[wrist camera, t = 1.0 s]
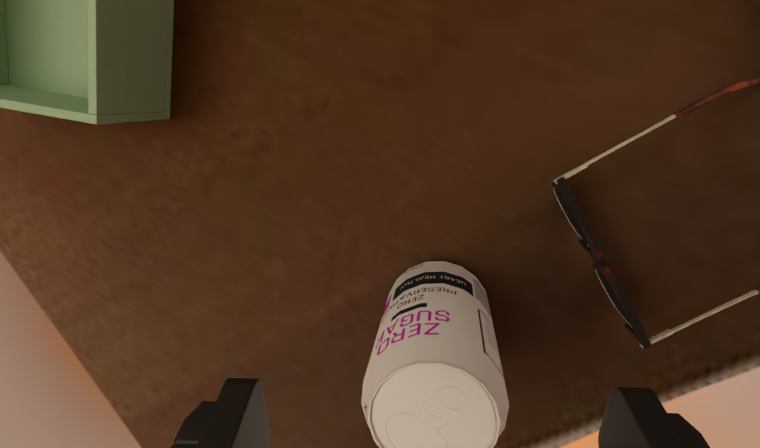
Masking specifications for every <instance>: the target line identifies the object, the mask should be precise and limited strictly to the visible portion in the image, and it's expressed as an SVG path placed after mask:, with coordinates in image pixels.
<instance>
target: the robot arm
mask: <svg viewBox="0 0 760 448" xmlns="http://www.w3.org/2000/svg"><path fill="white" fill-rule="evenodd" d="M269 438H270V423H269V417H268V411H267V406H266V400H265V394H264V388H263V383H262V381H261V379H245V378H228V379H227V380H226V381H225V383H224V385H223V387H222V390H221V392H220V394H219V396H218V399H217V401H216V402H209V401H203V402H202V403H201V404H200V405H199V406H198V407H197V408H196V409H195V410H194V411H193V412H192V413H191V414H190V415H189V416H188V417H187V418H186V419H185V420H184V422H183V424H182V426H181V428H180V430H179V432H178V434H177V436H176V438H175V440H174V445H172V446H171V448H268V446H269ZM598 443H599V448H710V447H709V446H708V444H707V442H706V441H705V439H704V438H703V436H702V434H701V433H699V431H697V430H696V429H695V428H694V427H693V426H692V425H691V424H690V423H688V422H687V421H686V420H685V419H684V418H683V417H682V416H681V415H679V414H674V413H666V411H665V409H664V408H663V406H662V404H661V402H660V401H659V399H658V397H657V396H656V394H655V393H654V392H653V390H651V389H650V388H626V387H614V388H612V389H611V391H610V394H609V398H608V401H607V405H606V409H605V412H604V416H603V420H602V423H601V427H600V431H599V439H598Z"/></svg>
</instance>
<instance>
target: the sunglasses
mask: <svg viewBox="0 0 760 448" xmlns="http://www.w3.org/2000/svg"><path fill="white" fill-rule="evenodd" d="M759 83H760V77H758V78H754V79H751V80H747V81H743V82H740V83H737V84H734V85H732V86H729V87H726V88H724V89H721V90H719V91H716V92H714V93H712V94H710V95H707V96H705V97H703V98H701V99H699V100H697V101H696V102H694V103H692V104H690V105H688V106H687V107H685V108H683V109H681V110H679V111H677V112H676V113H674V114H673V115H671V116H669V117H668V118H666V119H664V120H663V121H661V122H659V123H657V124H655V125H653V126H652V127H650V128H648V129H646V130H644V131H643V132H641V133H639V134H637V135H635V136H633V137H632V138H630V139H628V140H626V141H624V142H622V143H621V144H619V145H617V146H615V147H613V148H611V149H610V150H608V151H606V152H604V153H602V154H601V155H599V156H597V157H595V158H593V159H591V160H589V161H588V162H586V163H584V164H582V165H580V166H578V167H576V168H575V169H573V170H571V171H569V172H567V173H565V174H564V175H562V176H558V177H557V178H555V179H554V183H552V184H551V185H552V187H553V190H554V193H555V195H556V197H557V200H558V202H559V204H560V206H561V208H562V210H563V212H564V213H565V215H566V217H567V219H568V221H569V222H570V224H571V226H572V227H573V229H574V230H575V231H576V233H577V234H578V235H579V237H580V238H581V239H580V240H579V242H580V244H581V245H582V246H583V247H584V248H585V250H586V251H587V252H588V253H589V254H590V255H591V257H592V258H593V260H594V261H595V263H596V265H594V266H593V268H594V269H595V270H596V273H597V276H598V278H599V280H600V282H601V284H602V286H603V288H604V289H605V291H606V293H607V295H608V296H609V298H610V300H611V301H612V303H613V305H614V306H615V308H616V309H617V311H618V312H619V313H620V314H621V316H622V317H623V318H624V319H625V320H626V322H627V323H626V324H625V326H626V328H627V329H628V330H629V331H630V332H631V333H632V334H633V335H634V337H635V338H636V339H637V341H638V342H639V344H640V346H641V347H642V348H644V349H646V348H648V347H650V346H651V344H653V343H655V342H657V341H659V340H661V339H664V338H666V337H668V336H670V335H672V334H673V333H675V332H677V331H679V330H681V329H683V328H685V327H687V326H689V325H691V324H693V323H695V322H697V321H699V320H701V319H704V318H706V317H708V316H710V315H712V314H714V313H716V312H719V311H721V310H723V309H725V308H727V307H729V306H732V305H734V304H736V303H738V302H740V301H742V300H745V299H747V298H749V297H751V296H754V295H756V294H758V293H760V286H758V287H757V288H756V289H755V290H753V291H751V292H749V293H746V294H744V295H742V296H740V297H738V298H736V299H734V300H732V301H729V302H727V303H725V304H723V305H721V306H719V307H717V308H715V309H713V310H711V311H708V312H706V313H704V314H702V315H700V316H698V317H696V318H694V319H692V320H690V321H688V322H686V323H684V324H682V325H679V326H677V327H675V328H673V329H671V330H670V329H667V330H665V331H663V332H661V333H659V334H657V335H655V336H653V337H651V338H648V336H647V333H646V331H645V329H644V327H643V325H642V323H641V321H640V319H639V317H638V315H637V313H636V311H635V309H634V308H633V306H632V304H631V302H630V300H629V299H628V297H627V295H626V293H625V291H624V290H623V288H622V286H621V285H620V283H619V281H618V280H617V278H616V276H615V275H614V273H613V272H612V270H611V269H610V267H609V266H608V264H607V263H606V261H605V259H604V257H603V254H602V250H601V247H600V245H599V243H598V240H597V238H596V236H595V233H594V231H593V229H592V227H591V225H590V223H589V221H588V219H587V217H586V215H585V213H584V211H583V209H582V208H581V206H580V204H579V202H578V200H577V198H576V196H575V195H574V193H573V191H572V189H571V188H570V186H569V184H568V182H567V181H566V179H567V178H569V177H570V176H572V175H574V174H576V173H578V172H580V171H581V170H583V169H585V168H587V167H588V165H589V164H591V163H593V162H595V161H597V160H599V159H600V158H602V157H604V156H606V155H608V154H609V153H611V152H613V151H615V150H617V149H619V148H620V147H622V146H624V145H626V144H628V143H630V142H631V141H633V140H635V139H637V138H639V137H641V136H643V135H644V134H646V133H648V132H650V131H652V130H654V129H655V128H657V127H659V126H661V125H663V124H665V123H666V122H668V121H670V120H672V119H674V118H676V117H677V118H680V117H682V116H684V115H686V114H688V113H689V112H691V111H693V110H695V109H697V108H699V107H700V106H702V105H704V104H706V103H708V102H710V101H712V100H714V99H717V98H719V97H721V96H724V95H726V94H729V93H732V92H734V91H737V90H739V89H742V88H745V87H748V86H752V85H755V84H759Z"/></svg>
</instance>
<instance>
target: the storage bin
mask: <svg viewBox="0 0 760 448" xmlns="http://www.w3.org/2000/svg"><path fill="white" fill-rule="evenodd" d="M173 19H174V0H0V108H5V109H10V110H16V111H22V112H27V113H33V114H39V115H44V116H50V117H56V118H62V119H67V120H73V121H79V122H84V123H90V124H96V125H98V124H110V123H123V122H136V121H148V120H161V119H170V105H171V76H172V47H173Z"/></svg>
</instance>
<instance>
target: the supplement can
mask: <svg viewBox="0 0 760 448" xmlns="http://www.w3.org/2000/svg"><path fill="white" fill-rule="evenodd" d="M361 405H362V408H363V411H364V414H365V418H366V421H367V424H368V426H369V428H370V430H371V433H372V436H373V440H374V441H375V442H376V444H377V445H378V446H379V448H493V447H494V446H495V444H496V443H497V438H498V437H499V435H500V434H501V432H502V431H503V429H504V428H505V425H506V419H507V414H508V409H509V401H508V396H507V391H506V386H505V381H504V376H503V371H502V366H501V362H500V357H499V352H498V347H497V342H496V337H495V332H494V327H493V322H492V317H491V312H490V307H489V303H488V298H487V294H486V291H485V289H484V288H483V286H482V285H481V283H480V282H479V280H478V279H477V277H476V276H474V275H473V274H471V273H470V272H469V271H467V270H466V269H465V268H463V267H462V266H459V265H455V264H452V263H449V262H446V261H432V262H424V263H421V264H419V265H416V266H414V267H411V268H409V269H408V270H407V271H406V272H404V273H403V274H402V275H401V276H400V277H399V278H398V279H397V280H396V282H395V283H394V285H393V287H392V289H391V291H390V293H389V296H388V299H387V303H386V306H385V309H384V313H383V316H382V320H381V323H380V326H379V330H378V333H377V337H376V340H375V343H374V347H373V350H372V354H371V357H370V360H369V364H368V367H367V371H366V374H365V377H364V381H363V390H362V400H361Z"/></svg>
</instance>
